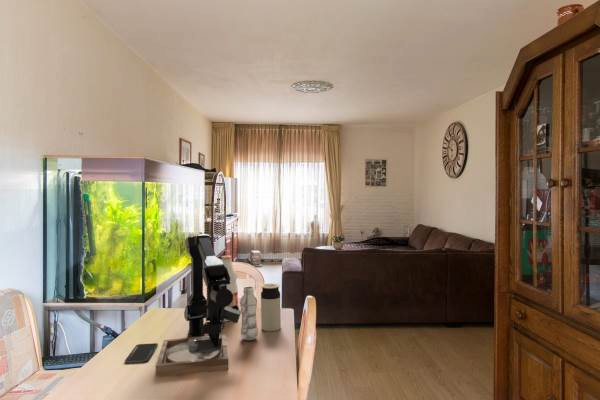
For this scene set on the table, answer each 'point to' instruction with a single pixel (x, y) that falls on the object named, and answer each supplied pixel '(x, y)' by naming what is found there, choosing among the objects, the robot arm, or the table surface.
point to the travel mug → (270, 307)
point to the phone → (141, 353)
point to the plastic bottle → (248, 314)
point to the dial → (193, 350)
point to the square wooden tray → (194, 365)
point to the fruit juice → (231, 280)
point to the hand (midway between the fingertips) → (216, 346)
